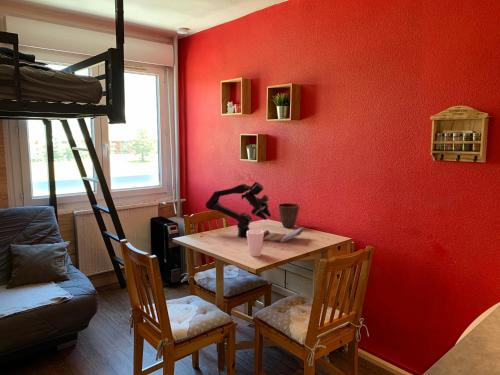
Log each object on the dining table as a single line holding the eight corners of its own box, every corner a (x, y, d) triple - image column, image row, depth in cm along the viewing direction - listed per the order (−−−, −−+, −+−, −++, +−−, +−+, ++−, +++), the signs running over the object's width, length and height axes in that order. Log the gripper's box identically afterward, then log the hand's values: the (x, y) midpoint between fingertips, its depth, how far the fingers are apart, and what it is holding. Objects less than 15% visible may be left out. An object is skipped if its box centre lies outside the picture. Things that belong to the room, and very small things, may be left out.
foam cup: (254, 251, 214) (254, 228, 213) (267, 254, 209) (267, 231, 207) (243, 255, 207) (243, 232, 205) (256, 258, 201) (256, 234, 200)
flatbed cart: (259, 240, 235) (259, 236, 235) (266, 234, 250) (266, 230, 250) (279, 242, 231) (279, 238, 231) (286, 236, 246) (286, 231, 245)
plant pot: (298, 229, 263) (298, 207, 261) (276, 229, 266) (276, 206, 264) (299, 225, 277) (299, 203, 275) (279, 224, 280) (279, 203, 278)
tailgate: (280, 240, 231) (298, 232, 226) (286, 233, 246) (303, 226, 241) (281, 242, 231) (299, 235, 226) (287, 236, 246) (304, 229, 241)
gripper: (256, 193, 231) (273, 212, 228) (265, 189, 248) (281, 207, 246) (244, 205, 234) (260, 224, 232) (254, 200, 252) (269, 218, 250)
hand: (268, 217), depth 240 cm, fingers open, 9 cm apart
